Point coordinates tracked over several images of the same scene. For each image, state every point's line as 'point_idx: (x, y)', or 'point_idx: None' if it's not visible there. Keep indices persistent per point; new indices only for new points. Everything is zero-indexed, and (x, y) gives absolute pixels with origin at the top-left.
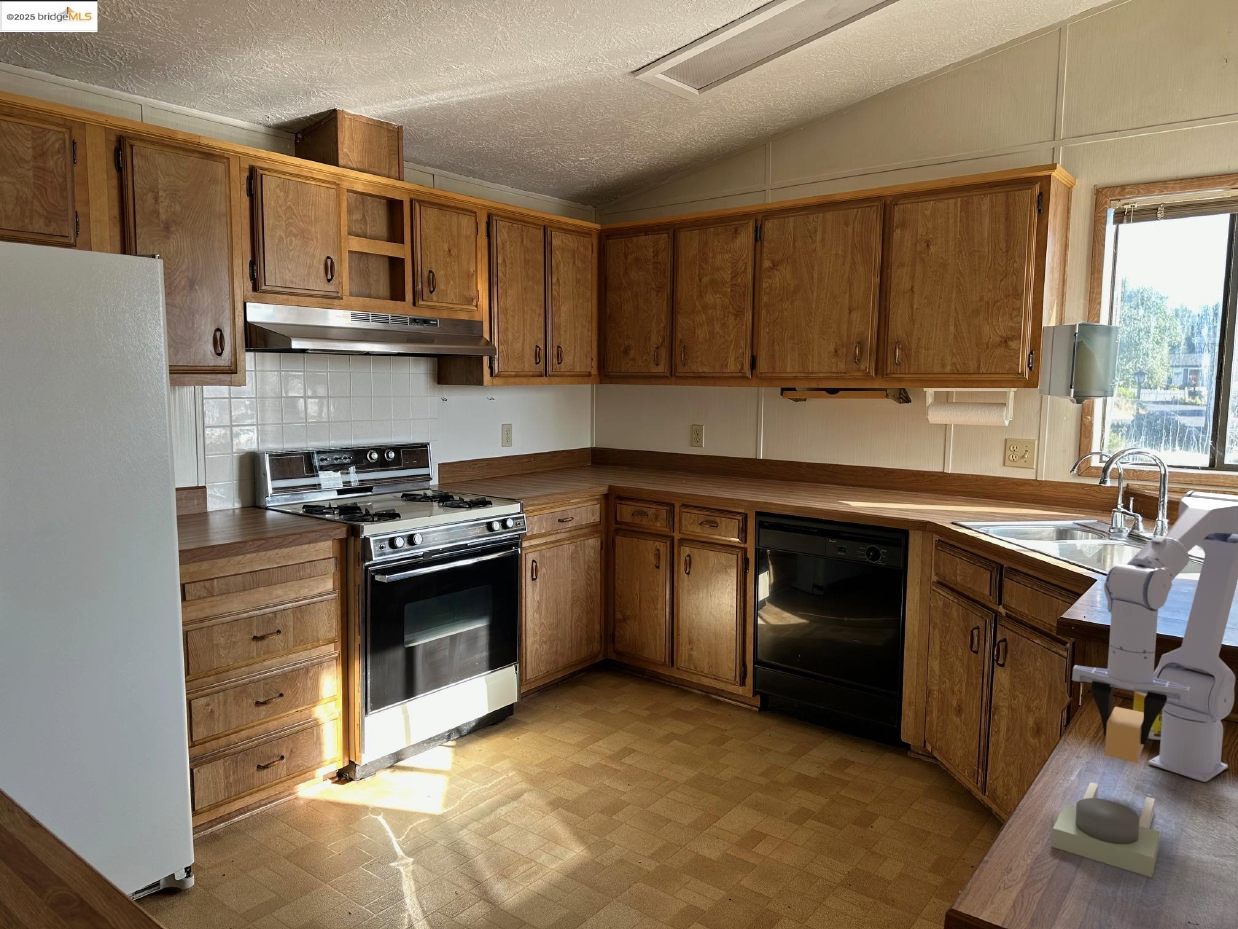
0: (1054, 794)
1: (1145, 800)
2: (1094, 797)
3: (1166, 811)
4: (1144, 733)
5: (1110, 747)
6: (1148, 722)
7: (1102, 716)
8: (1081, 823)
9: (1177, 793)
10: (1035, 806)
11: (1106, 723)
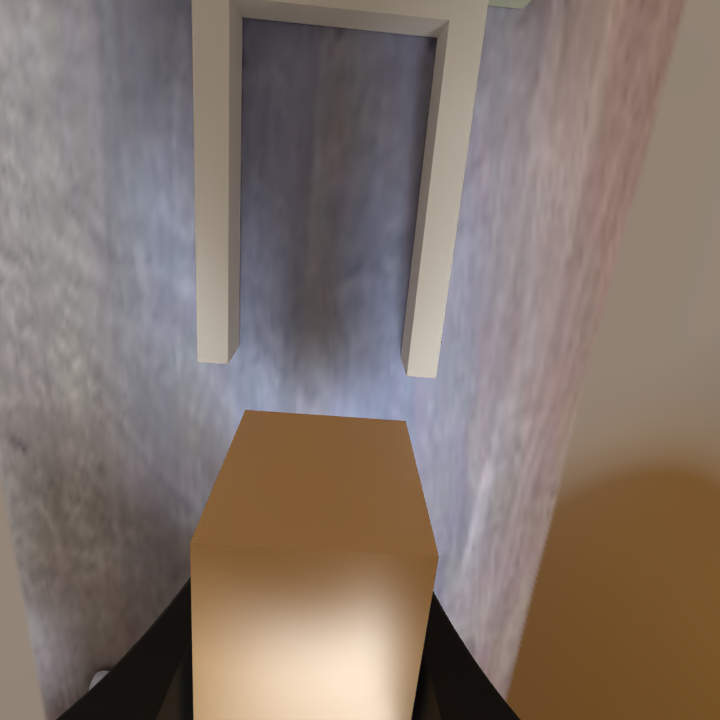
0: (549, 290)
1: (227, 321)
2: (414, 279)
3: (175, 383)
4: (190, 608)
5: (383, 447)
6: (135, 679)
7: (467, 665)
8: None
9: (162, 550)
10: (626, 118)
11: (429, 625)
